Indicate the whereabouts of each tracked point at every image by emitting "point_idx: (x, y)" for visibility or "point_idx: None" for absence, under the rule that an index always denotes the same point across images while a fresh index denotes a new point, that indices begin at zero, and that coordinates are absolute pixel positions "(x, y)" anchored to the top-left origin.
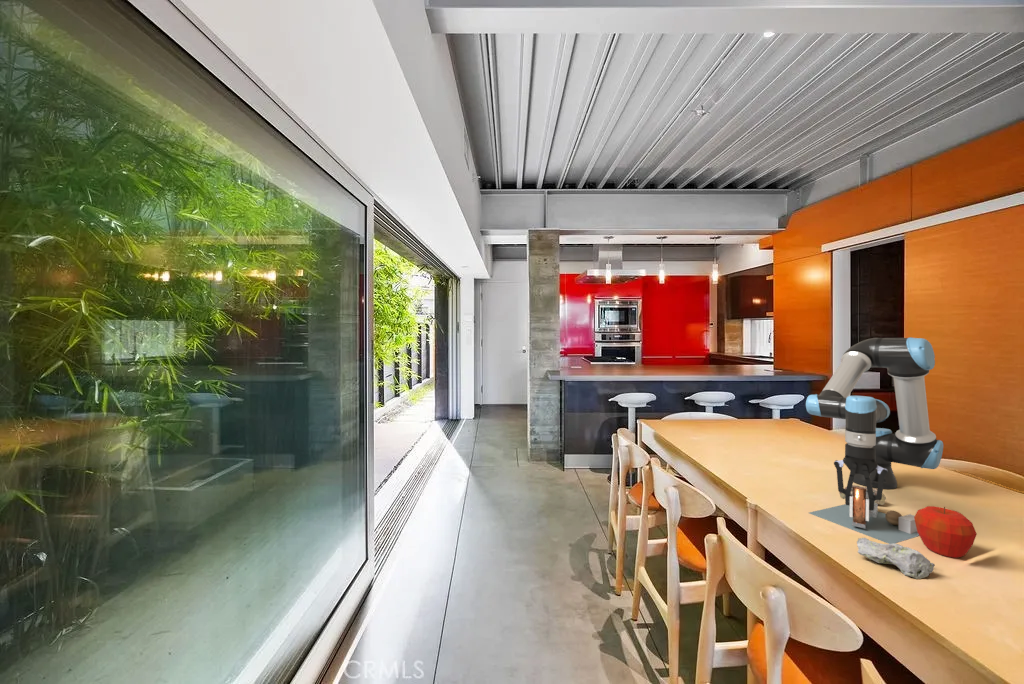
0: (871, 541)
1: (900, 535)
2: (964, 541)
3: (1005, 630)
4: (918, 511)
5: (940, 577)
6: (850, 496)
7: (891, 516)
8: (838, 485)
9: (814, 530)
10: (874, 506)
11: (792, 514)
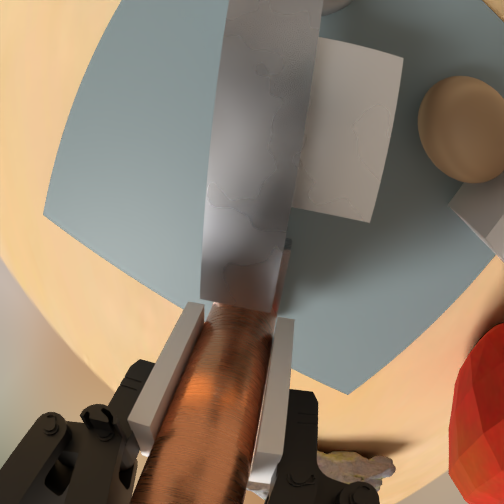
0: (264, 497)
1: (426, 289)
2: None
3: (396, 499)
4: (488, 482)
5: (399, 450)
6: (144, 453)
7: (456, 174)
8: (47, 481)
9: (114, 345)
10: (364, 170)
11: (22, 225)
